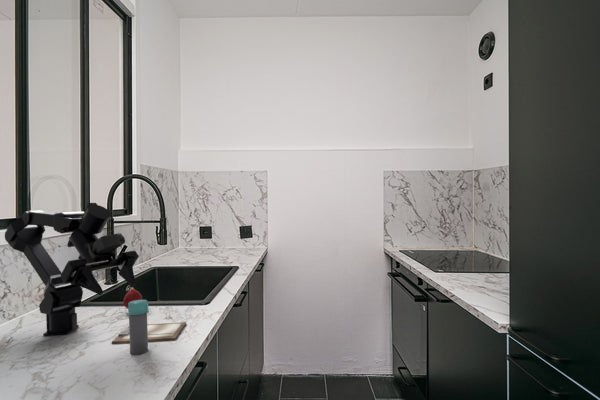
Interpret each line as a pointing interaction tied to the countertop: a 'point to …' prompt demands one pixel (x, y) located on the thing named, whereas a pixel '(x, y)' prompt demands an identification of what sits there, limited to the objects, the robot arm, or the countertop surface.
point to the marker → (138, 326)
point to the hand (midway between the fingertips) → (118, 289)
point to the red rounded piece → (131, 297)
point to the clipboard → (154, 332)
